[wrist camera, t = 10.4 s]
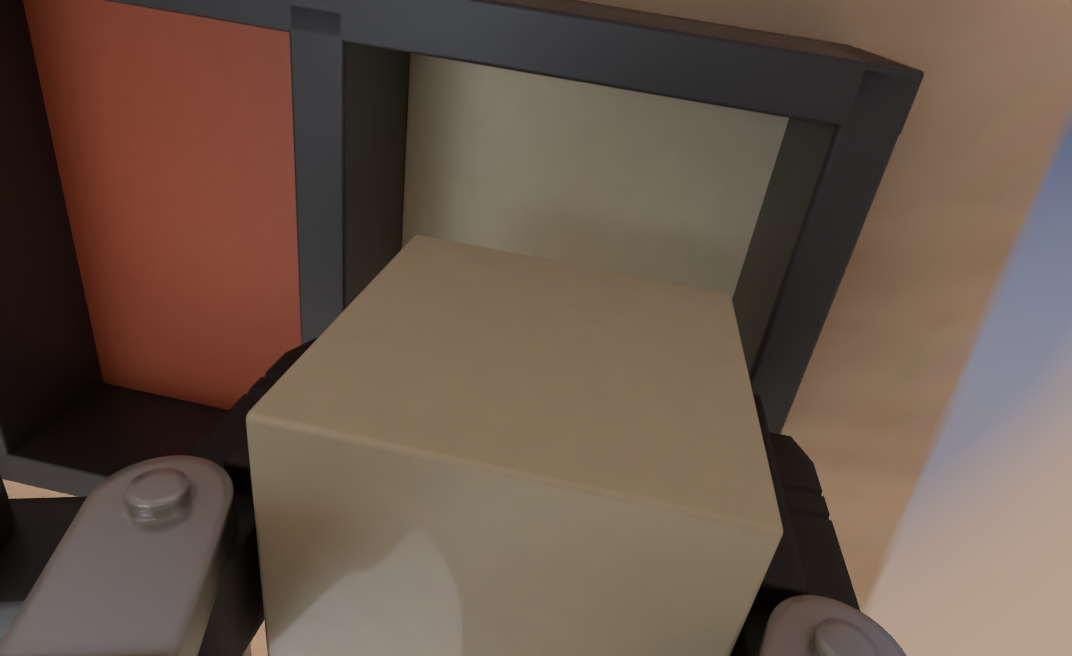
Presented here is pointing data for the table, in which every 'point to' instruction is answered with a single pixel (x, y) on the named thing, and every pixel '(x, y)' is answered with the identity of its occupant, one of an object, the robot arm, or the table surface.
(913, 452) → the table surface
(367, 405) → the cream block
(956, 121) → the table surface
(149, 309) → the sorting tray
